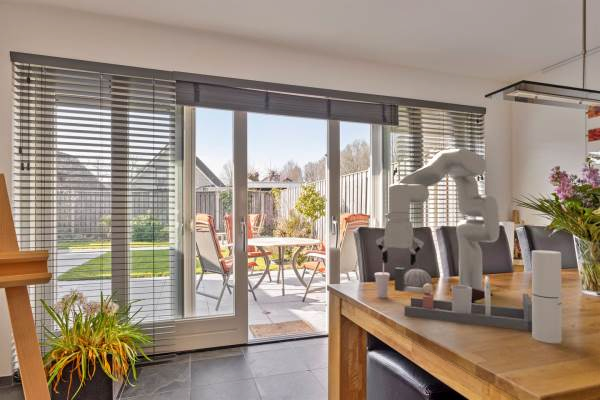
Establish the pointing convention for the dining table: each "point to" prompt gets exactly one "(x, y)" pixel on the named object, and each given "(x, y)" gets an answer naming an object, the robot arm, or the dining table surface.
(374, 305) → the dining table surface
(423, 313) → the grey walled channel
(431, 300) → the foosball rod
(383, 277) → the smoothie
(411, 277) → the sea urchin shell
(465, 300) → the drinking glass
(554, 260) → the cylindrical container
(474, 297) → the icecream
